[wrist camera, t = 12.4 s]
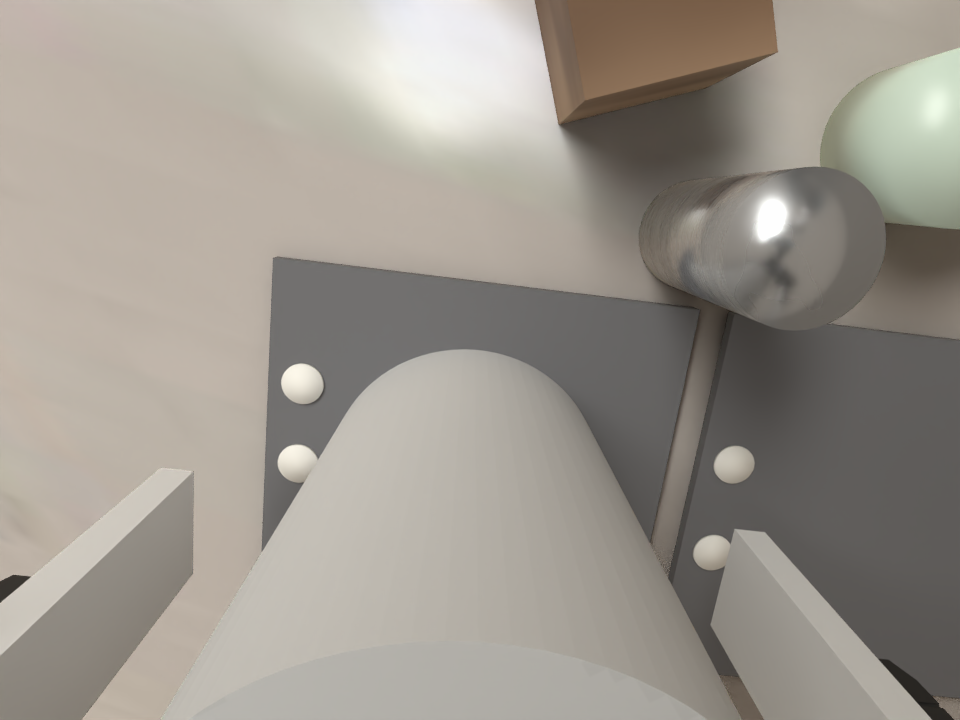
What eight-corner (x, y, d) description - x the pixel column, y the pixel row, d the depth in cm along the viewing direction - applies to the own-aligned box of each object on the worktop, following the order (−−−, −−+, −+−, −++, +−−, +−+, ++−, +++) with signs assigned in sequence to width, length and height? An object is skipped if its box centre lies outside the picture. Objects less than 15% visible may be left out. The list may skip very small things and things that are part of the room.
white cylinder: (371, 620, 20) (224, 1228, 8) (294, 385, 18) (-54, 736, 6) (620, 566, 19) (847, 1123, 8) (569, 320, 17) (770, 561, 6)
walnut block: (527, -38, 15) (545, -120, 12) (682, -79, 15) (753, -176, 11) (558, 125, 16) (584, 100, 13) (704, 88, 16) (777, 51, 12)
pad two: (728, 311, 18) (735, 314, 17) (1121, 359, 18) (1138, 363, 18) (649, 659, 21) (653, 670, 20) (989, 692, 21) (1001, 704, 21)
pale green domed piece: (789, 176, 17) (848, 173, 14) (884, 35, 16) (970, 2, 13) (904, 247, 17) (984, 260, 14) (1005, 116, 16) (1113, 101, 13)
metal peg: (650, 173, 17) (744, 156, 11) (756, 187, 17) (907, 177, 11) (629, 281, 17) (708, 320, 12) (731, 294, 18) (860, 339, 12)
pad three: (277, 256, 17) (271, 258, 17) (694, 307, 18) (701, 310, 17) (262, 622, 20) (257, 632, 20) (620, 656, 21) (624, 667, 20)
